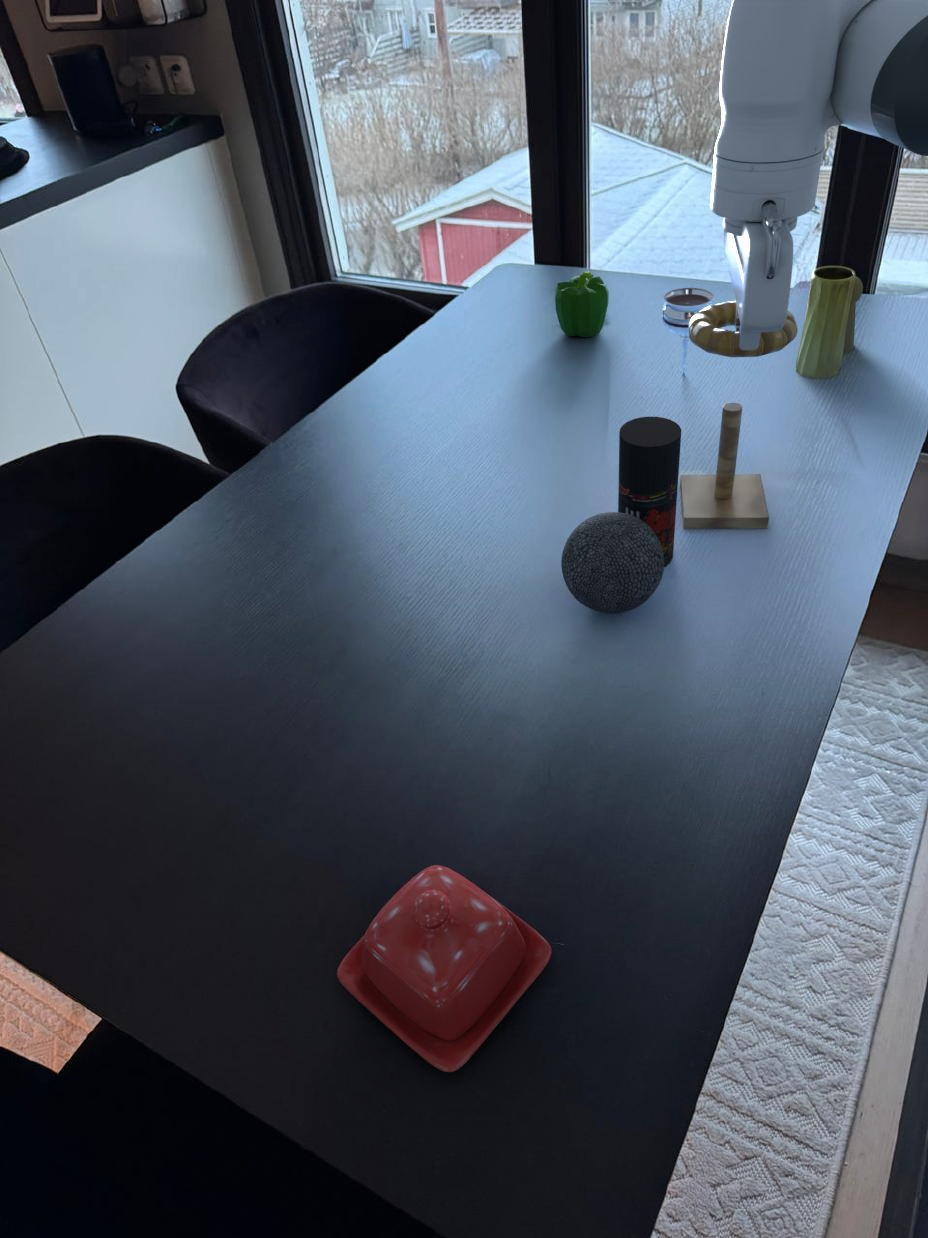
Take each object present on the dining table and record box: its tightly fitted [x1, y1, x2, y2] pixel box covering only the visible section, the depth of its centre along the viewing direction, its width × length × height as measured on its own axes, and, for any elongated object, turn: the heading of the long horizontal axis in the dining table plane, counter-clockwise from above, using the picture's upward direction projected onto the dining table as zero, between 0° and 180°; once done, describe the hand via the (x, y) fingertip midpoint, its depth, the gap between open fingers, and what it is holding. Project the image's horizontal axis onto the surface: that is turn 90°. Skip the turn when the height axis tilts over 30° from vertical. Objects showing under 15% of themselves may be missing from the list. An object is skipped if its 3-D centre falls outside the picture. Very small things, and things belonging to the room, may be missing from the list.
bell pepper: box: [554, 270, 610, 338], centre depth 138 cm, size 8×8×10 cm
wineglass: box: [661, 286, 715, 375], centre depth 121 cm, size 7×7×12 cm
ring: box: [689, 300, 799, 358], centre depth 89 cm, size 10×10×2 cm
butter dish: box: [336, 864, 553, 1073], centre depth 59 cm, size 12×12×8 cm
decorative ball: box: [560, 511, 665, 614], centre depth 87 cm, size 10×10×10 cm
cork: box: [843, 275, 864, 355], centre depth 123 cm, size 6×6×11 cm
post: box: [679, 402, 770, 530], centre depth 97 cm, size 9×9×12 cm
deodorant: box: [617, 416, 682, 568], centre depth 91 cm, size 6×6×15 cm
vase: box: [794, 265, 856, 379], centre depth 118 cm, size 6×6×14 cm
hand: (746, 339), depth 86 cm, fingers closed on ring, 2 cm apart
